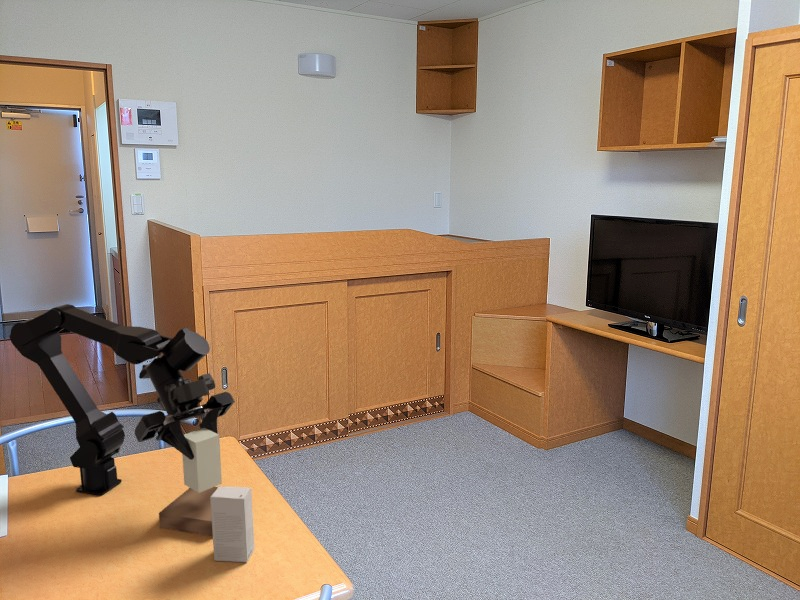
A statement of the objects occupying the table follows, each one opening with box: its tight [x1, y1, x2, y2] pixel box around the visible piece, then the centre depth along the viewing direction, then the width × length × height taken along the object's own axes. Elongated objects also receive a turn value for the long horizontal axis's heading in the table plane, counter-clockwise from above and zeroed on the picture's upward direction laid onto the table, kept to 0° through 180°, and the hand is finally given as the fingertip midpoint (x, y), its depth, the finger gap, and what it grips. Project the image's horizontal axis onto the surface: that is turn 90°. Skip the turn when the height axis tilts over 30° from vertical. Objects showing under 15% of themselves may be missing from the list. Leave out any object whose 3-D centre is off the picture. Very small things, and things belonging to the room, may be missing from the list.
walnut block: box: [158, 486, 219, 538], centre depth 127 cm, size 12×12×4 cm
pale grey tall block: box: [181, 428, 223, 493], centre depth 125 cm, size 5×5×10 cm
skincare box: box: [210, 485, 255, 563], centre depth 114 cm, size 6×4×12 cm
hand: (205, 453), depth 124 cm, fingers closed on pale grey tall block, 5 cm apart
